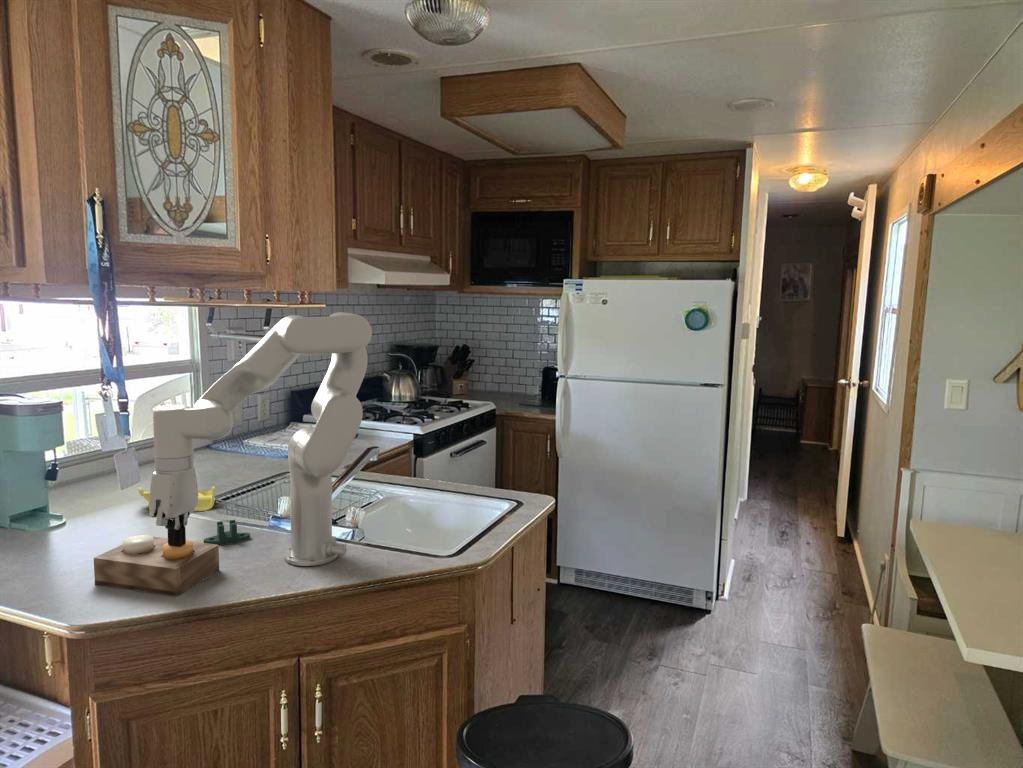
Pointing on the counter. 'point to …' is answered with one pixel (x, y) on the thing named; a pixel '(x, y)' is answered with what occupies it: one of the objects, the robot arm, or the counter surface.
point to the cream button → (138, 544)
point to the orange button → (177, 550)
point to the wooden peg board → (156, 568)
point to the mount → (227, 535)
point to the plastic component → (203, 498)
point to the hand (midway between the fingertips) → (176, 544)
